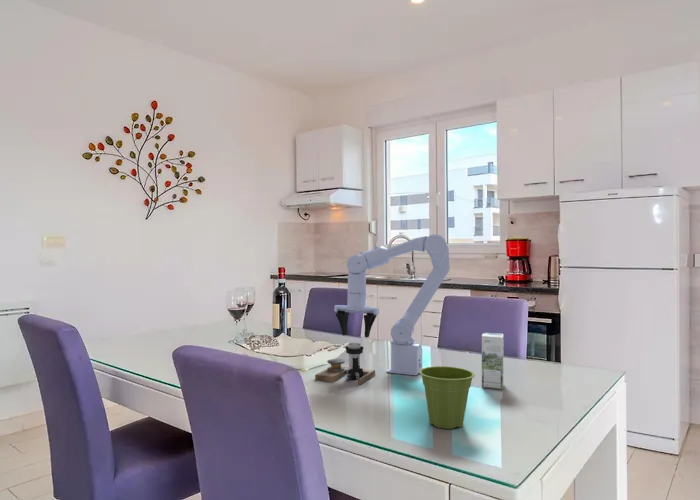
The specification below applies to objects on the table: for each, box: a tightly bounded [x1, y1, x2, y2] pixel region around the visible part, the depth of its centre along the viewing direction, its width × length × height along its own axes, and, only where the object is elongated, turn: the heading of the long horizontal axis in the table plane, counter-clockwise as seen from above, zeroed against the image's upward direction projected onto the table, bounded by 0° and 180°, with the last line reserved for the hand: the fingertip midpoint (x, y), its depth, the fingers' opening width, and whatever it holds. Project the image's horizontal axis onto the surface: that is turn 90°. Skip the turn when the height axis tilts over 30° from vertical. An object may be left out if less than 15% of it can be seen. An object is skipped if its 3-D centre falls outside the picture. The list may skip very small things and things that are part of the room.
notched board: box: [314, 358, 376, 386], centre depth 147 cm, size 14×12×4 cm
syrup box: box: [481, 332, 505, 390], centre depth 137 cm, size 6×6×14 cm
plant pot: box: [418, 365, 476, 430], centre depth 108 cm, size 12×12×11 cm
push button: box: [343, 342, 365, 381], centre depth 146 cm, size 7×5×10 cm
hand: (355, 335), depth 157 cm, fingers open, 7 cm apart
